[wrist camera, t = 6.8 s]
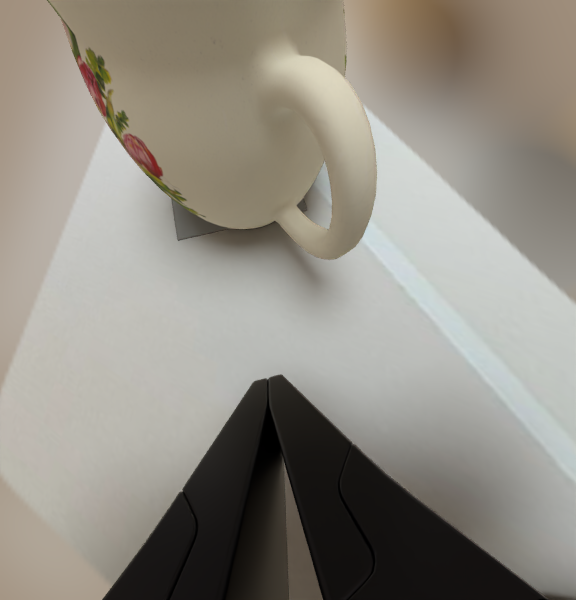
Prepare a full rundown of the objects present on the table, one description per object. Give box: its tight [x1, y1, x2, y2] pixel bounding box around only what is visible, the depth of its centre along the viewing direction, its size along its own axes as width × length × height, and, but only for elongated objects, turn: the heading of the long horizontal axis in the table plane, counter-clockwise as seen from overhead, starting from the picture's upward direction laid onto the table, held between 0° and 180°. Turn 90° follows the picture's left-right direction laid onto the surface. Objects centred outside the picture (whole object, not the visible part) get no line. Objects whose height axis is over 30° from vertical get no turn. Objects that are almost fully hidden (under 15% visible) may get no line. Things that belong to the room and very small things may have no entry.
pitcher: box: [47, 0, 377, 260], centre depth 12 cm, size 11×18×14 cm, turn 33°
